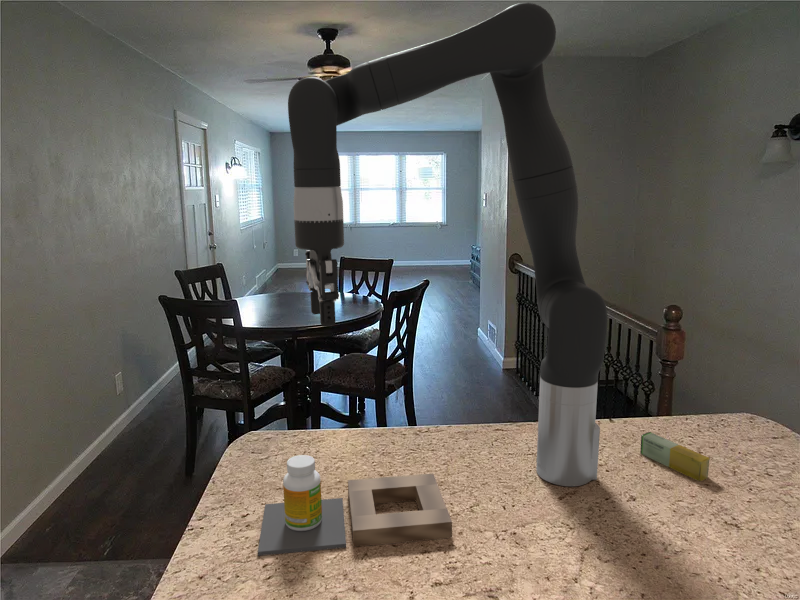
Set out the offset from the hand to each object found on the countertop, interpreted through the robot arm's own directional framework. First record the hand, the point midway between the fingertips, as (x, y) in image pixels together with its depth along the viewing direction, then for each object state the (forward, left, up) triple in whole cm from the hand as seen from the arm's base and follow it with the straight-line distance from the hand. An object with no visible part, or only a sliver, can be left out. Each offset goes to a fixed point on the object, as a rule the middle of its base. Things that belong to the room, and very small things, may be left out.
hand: (322, 319), depth 94 cm
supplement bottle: (+4, +13, -28) cm, 31 cm away
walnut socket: (-10, +12, -28) cm, 32 cm away
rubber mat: (+4, +13, -28) cm, 31 cm away
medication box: (-60, +4, -28) cm, 67 cm away
